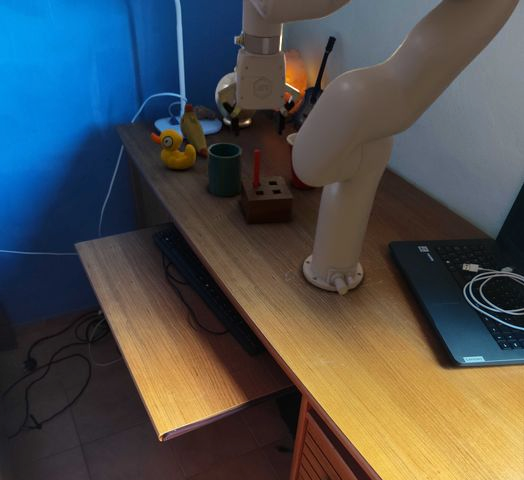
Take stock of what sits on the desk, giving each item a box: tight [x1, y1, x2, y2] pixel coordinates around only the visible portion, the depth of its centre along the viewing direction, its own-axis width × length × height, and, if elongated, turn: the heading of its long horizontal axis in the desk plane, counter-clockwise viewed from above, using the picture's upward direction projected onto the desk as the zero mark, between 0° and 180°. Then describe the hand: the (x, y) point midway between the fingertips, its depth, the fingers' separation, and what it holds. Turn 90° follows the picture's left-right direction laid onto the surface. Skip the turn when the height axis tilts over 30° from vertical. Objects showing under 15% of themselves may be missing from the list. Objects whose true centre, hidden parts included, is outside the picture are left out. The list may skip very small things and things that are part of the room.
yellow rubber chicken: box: [179, 103, 208, 157], centre depth 133 cm, size 20×5×10 cm, turn 24°
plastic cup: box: [286, 132, 314, 190], centre depth 119 cm, size 11×11×12 cm
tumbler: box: [207, 142, 243, 198], centre depth 116 cm, size 8×8×10 cm
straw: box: [253, 149, 261, 186], centre depth 109 cm, size 1×1×14 cm
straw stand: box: [240, 175, 294, 225], centre depth 111 cm, size 10×10×6 cm
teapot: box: [214, 66, 258, 129], centre depth 143 cm, size 18×14×16 cm
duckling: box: [150, 128, 197, 170], centre depth 123 cm, size 11×5×10 cm, turn 86°
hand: (257, 133), depth 102 cm, fingers open, 9 cm apart
